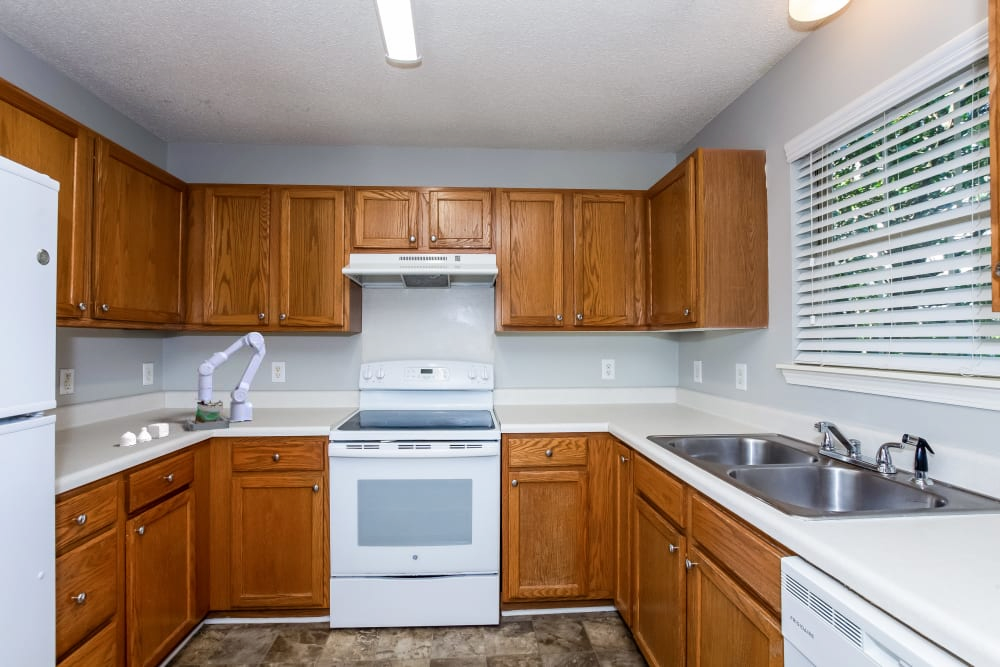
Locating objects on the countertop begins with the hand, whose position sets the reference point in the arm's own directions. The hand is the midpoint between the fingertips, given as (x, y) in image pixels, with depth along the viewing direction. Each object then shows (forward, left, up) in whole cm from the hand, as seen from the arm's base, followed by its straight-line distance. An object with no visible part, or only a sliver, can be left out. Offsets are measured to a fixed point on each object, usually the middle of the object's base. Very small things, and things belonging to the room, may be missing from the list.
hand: (204, 417), depth 225 cm
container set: (+23, +30, -4) cm, 38 cm away
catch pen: (0, +9, -3) cm, 10 cm away
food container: (-1, +7, -3) cm, 7 cm away
